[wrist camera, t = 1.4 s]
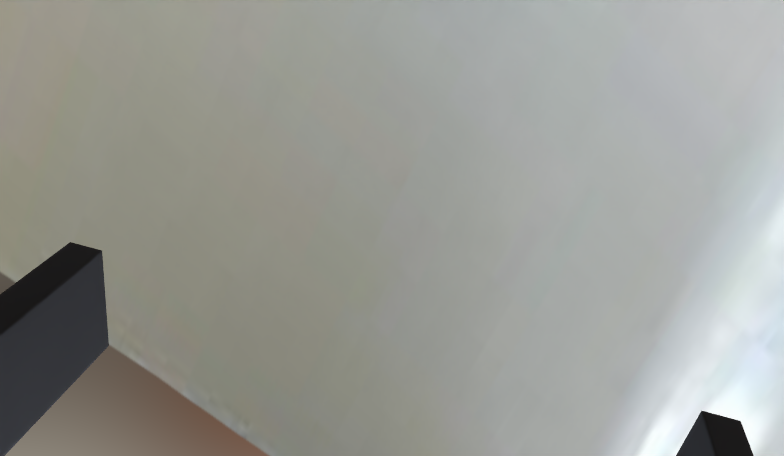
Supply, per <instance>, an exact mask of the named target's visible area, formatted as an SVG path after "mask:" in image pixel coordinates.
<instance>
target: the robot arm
mask: <svg viewBox="0 0 784 456" xmlns="http://www.w3.org/2000/svg"><path fill="white" fill-rule="evenodd" d="M108 346H109V343H108V329H107V315H106V301H105V287H104V273H103V258H102V251H101V250H97V249H94V248H90V247H86V246H82V245H79V244H75V243H71V242H70V243H69V244H67V245H66V246H65V247H63V248H62V249H61V250H59V251H58V252H57V253H55V254H54V255H53V256H51V257H50V258H49V259H47V260H46V261H45V262H43V263H42V264H41V265H39V266H38V267H36V268H35V269H34V270H32V271H31V272H30V273H28V274H27V275H26V276H24V277H23V278H22V279H20V280H19V281H18V282H16V283H15V284H14V285H13V286H11V287H10V288H9V289H7V290H6V291H4V292H3V293H2V294H0V456H5V455H6V453H7V452H8V451H9V450H10V449H11V448H12V447H13V446H14V445H15V444H16V443H17V442H18V441H19V440H20V439H21V438H22V437H23V436H24V434H25V433H26V432H27V431H28V430H29V429H30V428H31V427H32V426H33V425H34V424H35V423H36V422H37V421H38V420H39V419H40V417H41V416H43V414H44V413H45V412H46V411H47V410H48V409H49V408H50V407H51V406H52V405H53V404H54V403H55V402H56V401H57V400H58V399H59V398H60V397H61V395H62V394H63V393H64V392H65V391H66V390H67V389H68V388H69V387H70V386H71V385H72V384H73V383H74V382H75V381H76V380H77V378H79V376H80V375H81V374H82V373H83V372H84V371H85V370H86V369H87V368H88V367H89V366H90V365H91V364H92V363H93V362H94V360H96V359H97V357H98V356H99V355H100V354H101V353H102V352H103V351H104V350H105V349H106V348H107V347H108ZM676 456H753V453H752V450H751V448H750V445H749V443H748V440H747V437H746V435H745V432H744V429H743V427H742V424H741V421H738V420H734V419H731V418H727V417H723V416H719V415H716V414H712V413H708V412H704V411H701V413H700V415H699V416H698V418H697V420H696V422H695V423H694V425H693V427H692V429H691V430H690V432H689V434H688V436H687V437H686V439H685V441H684V443H683V444H682V446H681V448H680V450H679V451H678V453H677V455H676Z"/></svg>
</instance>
